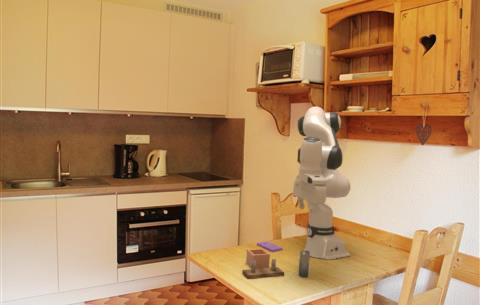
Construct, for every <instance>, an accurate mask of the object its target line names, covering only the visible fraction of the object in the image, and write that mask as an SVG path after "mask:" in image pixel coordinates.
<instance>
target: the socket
mask: <svg viewBox="0 0 480 305" xmlns="http://www.w3.org/2000/svg"><path fill="white" fill-rule="evenodd" d="M270 257H271V254H270V253H269V252H268V251H266V249H264V248H254V249H253V248H251V249H246V258H245V259H246V265H247V266H249V267H250V268H251V262H252V260H255V261H256V269H260V268H270V261H271V260H270V259H271V258H270Z"/></svg>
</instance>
